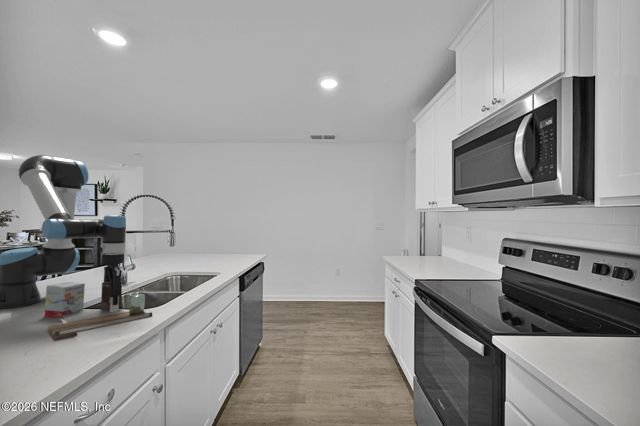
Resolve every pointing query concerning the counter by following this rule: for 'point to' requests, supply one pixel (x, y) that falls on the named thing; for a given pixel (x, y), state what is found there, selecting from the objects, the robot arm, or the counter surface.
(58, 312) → the ink box
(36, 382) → the counter surface
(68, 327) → the shelf board
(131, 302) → the green glass jar
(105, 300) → the box
